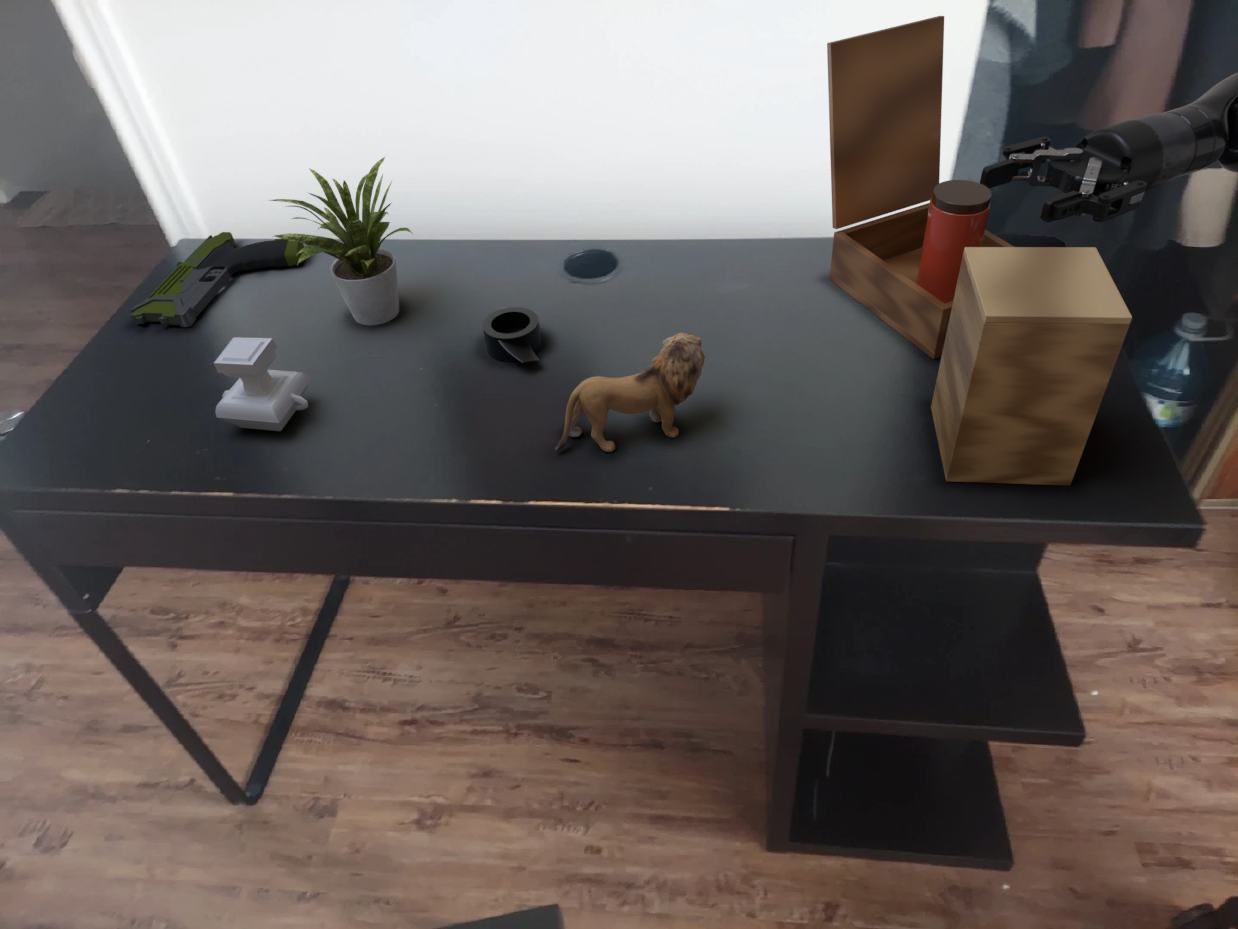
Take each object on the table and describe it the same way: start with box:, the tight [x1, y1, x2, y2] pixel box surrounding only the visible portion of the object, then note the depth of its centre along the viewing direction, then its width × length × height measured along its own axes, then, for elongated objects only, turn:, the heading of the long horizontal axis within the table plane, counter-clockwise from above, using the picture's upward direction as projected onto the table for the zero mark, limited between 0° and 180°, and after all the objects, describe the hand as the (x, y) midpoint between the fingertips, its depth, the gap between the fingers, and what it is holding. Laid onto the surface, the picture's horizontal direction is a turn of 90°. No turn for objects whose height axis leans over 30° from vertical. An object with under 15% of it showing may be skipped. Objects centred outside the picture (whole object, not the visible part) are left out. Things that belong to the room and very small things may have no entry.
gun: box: [130, 231, 306, 328], centre depth 109 cm, size 2×19×15 cm
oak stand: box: [930, 254, 1131, 486], centre depth 75 cm, size 10×10×16 cm
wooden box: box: [829, 202, 1015, 360], centre depth 96 cm, size 18×14×6 cm
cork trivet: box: [964, 246, 1133, 324], centre depth 70 cm, size 10×10×1 cm
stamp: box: [213, 336, 311, 432], centre depth 87 cm, size 9×7×8 cm
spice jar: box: [916, 179, 993, 304], centre depth 92 cm, size 6×6×12 cm
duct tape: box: [482, 305, 543, 364], centre depth 96 cm, size 8×10×3 cm
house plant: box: [269, 156, 414, 326], centre depth 99 cm, size 14×14×16 cm
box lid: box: [826, 15, 945, 230], centre depth 97 cm, size 18×14×4 cm
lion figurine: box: [554, 332, 706, 453], centre depth 82 cm, size 15×5×9 cm, turn 112°
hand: (1012, 194), depth 92 cm, fingers open, 8 cm apart
